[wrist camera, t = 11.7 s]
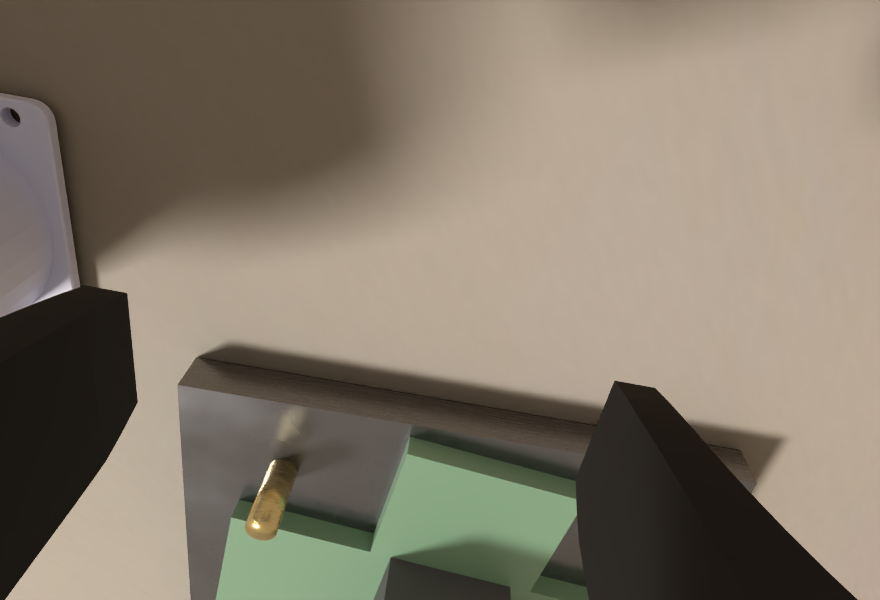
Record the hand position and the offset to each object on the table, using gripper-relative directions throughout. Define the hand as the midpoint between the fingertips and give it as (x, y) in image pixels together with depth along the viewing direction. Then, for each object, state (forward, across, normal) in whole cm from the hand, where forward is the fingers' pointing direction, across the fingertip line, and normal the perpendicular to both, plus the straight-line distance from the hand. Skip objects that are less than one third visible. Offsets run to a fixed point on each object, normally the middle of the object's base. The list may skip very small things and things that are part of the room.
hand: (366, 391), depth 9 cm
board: (+8, -3, +16) cm, 18 cm away
